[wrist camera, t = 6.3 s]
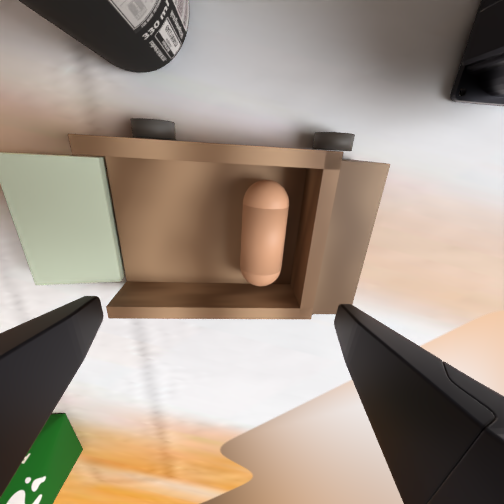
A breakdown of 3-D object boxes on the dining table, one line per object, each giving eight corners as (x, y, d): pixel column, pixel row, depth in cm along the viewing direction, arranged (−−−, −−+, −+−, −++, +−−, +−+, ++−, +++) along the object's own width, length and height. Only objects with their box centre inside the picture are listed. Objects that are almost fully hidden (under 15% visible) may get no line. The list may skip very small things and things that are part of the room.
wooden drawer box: (360, 137, 18) (398, 134, 14) (325, 298, 23) (345, 330, 19) (106, 119, 16) (62, 109, 12) (134, 295, 22) (111, 330, 18)
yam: (286, 178, 18) (296, 184, 15) (275, 274, 21) (282, 294, 18) (243, 176, 17) (244, 181, 14) (239, 273, 20) (239, 294, 18)
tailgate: (98, 157, 16) (-11, 152, 15) (121, 281, 20) (35, 285, 18) (105, 157, 17) (5, 151, 16) (125, 273, 21) (45, 276, 19)
